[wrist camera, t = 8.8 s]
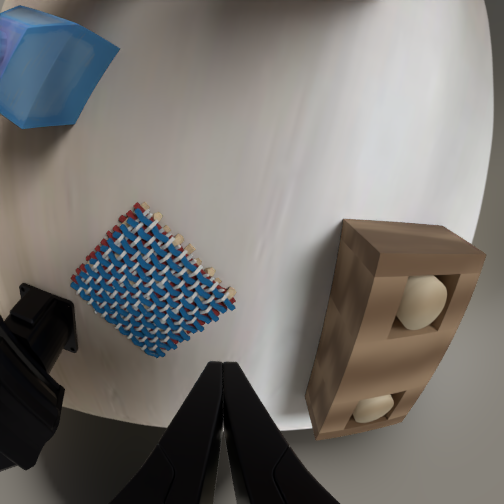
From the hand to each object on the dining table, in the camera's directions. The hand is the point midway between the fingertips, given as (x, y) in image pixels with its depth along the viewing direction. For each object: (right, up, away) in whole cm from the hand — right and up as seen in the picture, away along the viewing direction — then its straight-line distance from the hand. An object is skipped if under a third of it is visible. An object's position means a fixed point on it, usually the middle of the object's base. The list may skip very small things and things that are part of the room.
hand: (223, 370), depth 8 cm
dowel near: (+12, +2, +14) cm, 19 cm away
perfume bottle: (-12, +17, +6) cm, 22 cm away
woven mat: (-7, +1, +14) cm, 16 cm away
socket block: (+12, -3, +16) cm, 21 cm away
